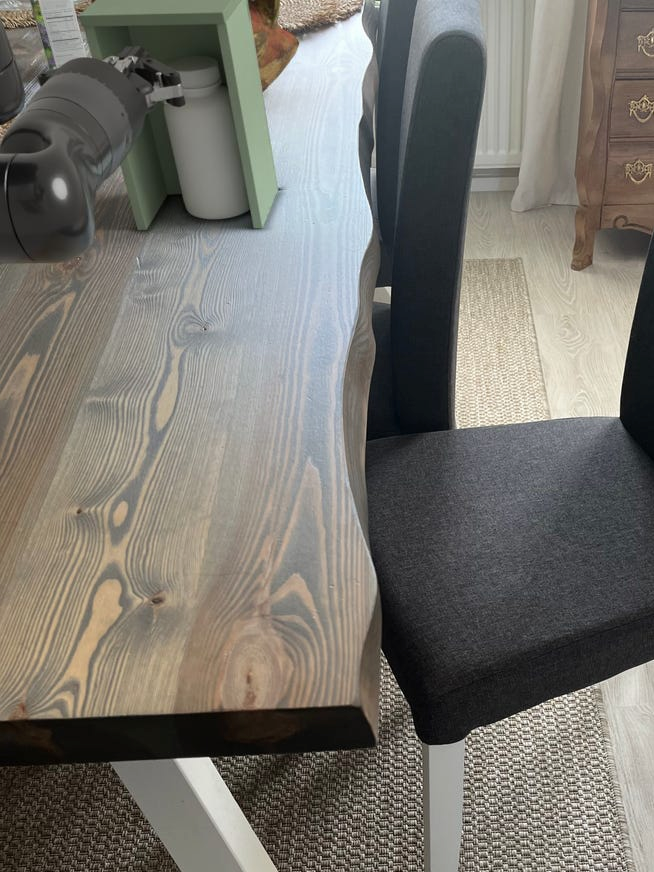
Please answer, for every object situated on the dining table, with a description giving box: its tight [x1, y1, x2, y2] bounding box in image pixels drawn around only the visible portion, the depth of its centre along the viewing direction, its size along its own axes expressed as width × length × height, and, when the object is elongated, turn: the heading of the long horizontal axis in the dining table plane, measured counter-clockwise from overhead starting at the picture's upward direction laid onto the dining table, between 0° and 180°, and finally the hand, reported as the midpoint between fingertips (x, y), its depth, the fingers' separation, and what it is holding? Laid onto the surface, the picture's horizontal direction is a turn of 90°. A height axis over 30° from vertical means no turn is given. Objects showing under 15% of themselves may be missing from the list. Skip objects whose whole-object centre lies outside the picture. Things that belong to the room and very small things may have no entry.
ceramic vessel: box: [90, 0, 300, 93], centre depth 132 cm, size 17×26×25 cm, turn 108°
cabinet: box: [78, 0, 279, 231], centre depth 108 cm, size 12×14×21 cm
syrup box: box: [29, 0, 88, 71], centre depth 147 cm, size 6×6×14 cm
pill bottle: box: [164, 56, 250, 220], centre depth 110 cm, size 8×8×15 cm
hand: (137, 58), depth 93 cm, fingers closed
